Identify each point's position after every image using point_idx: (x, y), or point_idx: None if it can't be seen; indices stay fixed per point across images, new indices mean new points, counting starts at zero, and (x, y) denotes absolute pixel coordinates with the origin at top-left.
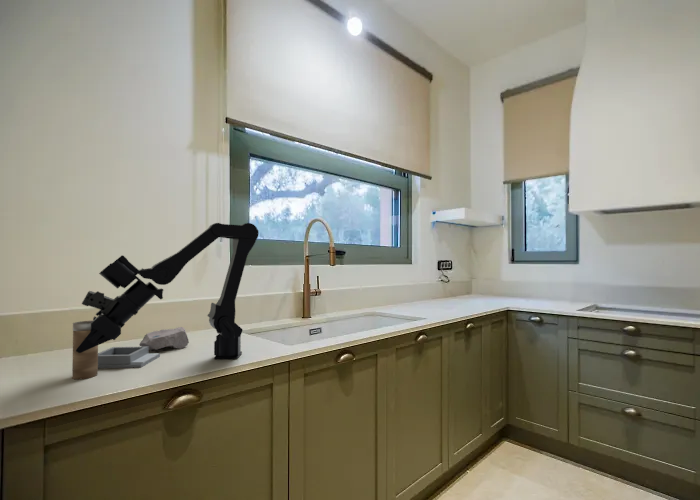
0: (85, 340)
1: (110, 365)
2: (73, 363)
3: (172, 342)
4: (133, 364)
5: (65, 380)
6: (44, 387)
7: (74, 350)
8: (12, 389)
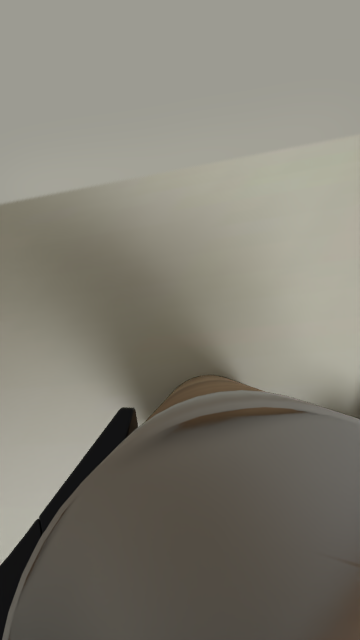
0: (47, 513)
1: None
2: (186, 383)
3: None
4: None
5: (183, 351)
6: (121, 288)
7: (172, 395)
8: (162, 190)
